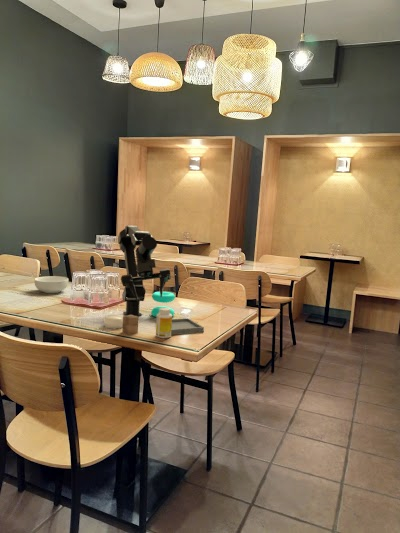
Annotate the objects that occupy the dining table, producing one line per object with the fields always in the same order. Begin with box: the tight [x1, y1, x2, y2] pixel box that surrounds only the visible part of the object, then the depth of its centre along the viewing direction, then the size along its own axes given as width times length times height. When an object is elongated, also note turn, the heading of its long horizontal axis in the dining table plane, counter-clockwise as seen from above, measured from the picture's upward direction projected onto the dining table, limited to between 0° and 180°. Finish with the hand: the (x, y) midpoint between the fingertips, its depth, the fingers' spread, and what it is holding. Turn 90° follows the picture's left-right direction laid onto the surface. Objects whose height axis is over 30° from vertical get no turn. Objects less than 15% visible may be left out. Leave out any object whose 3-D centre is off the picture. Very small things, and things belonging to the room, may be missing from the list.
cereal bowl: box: [34, 275, 69, 294], centre depth 214 cm, size 17×17×7 cm
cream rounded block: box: [103, 314, 124, 329], centre depth 159 cm, size 8×8×4 cm
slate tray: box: [156, 317, 205, 336], centre depth 161 cm, size 14×14×2 cm
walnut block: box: [121, 315, 139, 335], centre depth 152 cm, size 4×4×6 cm
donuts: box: [150, 291, 176, 318], centre depth 179 cm, size 10×10×10 cm
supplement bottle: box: [155, 308, 173, 339], centre depth 149 cm, size 6×6×10 cm
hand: (149, 298), depth 156 cm, fingers open, 9 cm apart
